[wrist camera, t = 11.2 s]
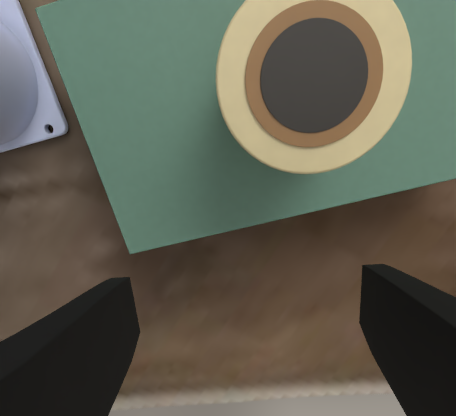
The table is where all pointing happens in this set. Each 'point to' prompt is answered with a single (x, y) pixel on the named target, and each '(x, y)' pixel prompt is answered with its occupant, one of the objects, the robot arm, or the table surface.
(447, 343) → the robot arm
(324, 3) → the tape roll
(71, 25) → the desk shelf
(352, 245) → the table surface
